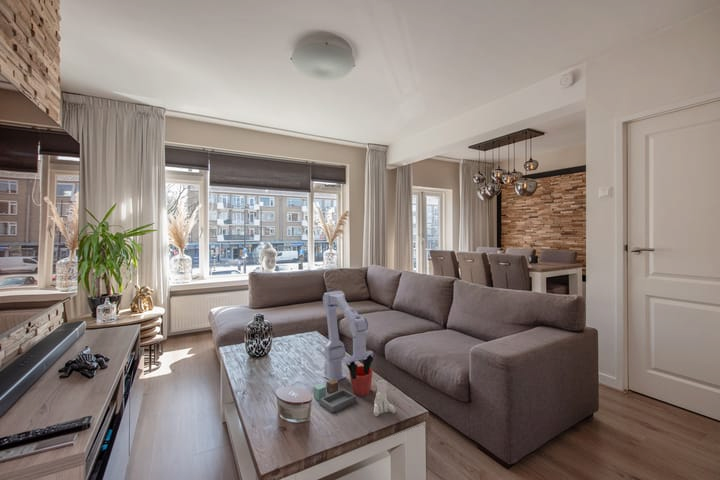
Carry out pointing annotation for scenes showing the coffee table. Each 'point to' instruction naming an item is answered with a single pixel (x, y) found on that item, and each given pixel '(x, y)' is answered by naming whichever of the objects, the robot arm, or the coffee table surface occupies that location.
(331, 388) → the walnut block
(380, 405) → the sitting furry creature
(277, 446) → the coffee table surface
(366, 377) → the flower pot
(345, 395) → the tray
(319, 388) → the teal block
